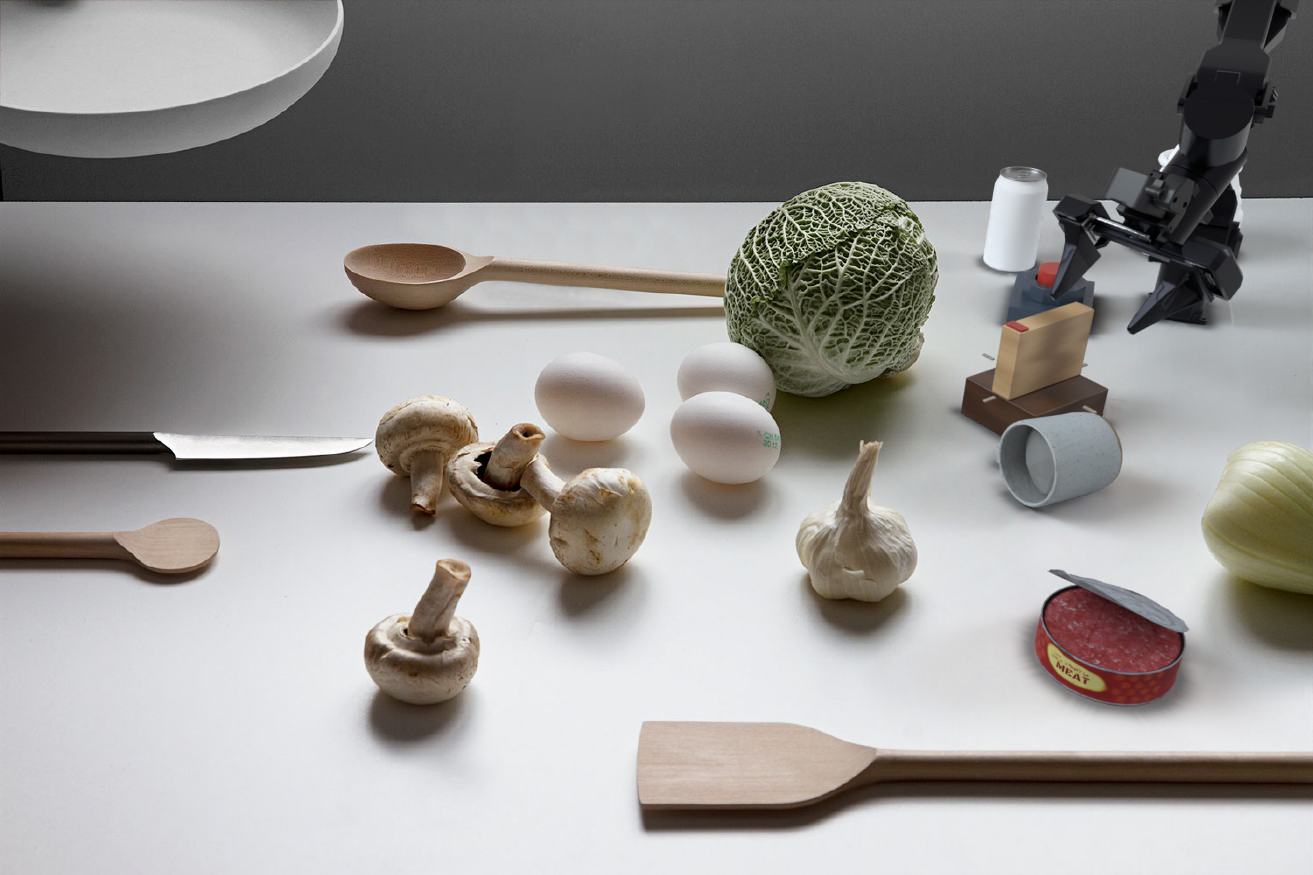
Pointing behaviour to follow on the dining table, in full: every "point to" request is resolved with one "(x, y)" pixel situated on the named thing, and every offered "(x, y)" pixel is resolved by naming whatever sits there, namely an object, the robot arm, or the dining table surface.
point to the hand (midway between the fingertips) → (1090, 314)
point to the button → (1048, 273)
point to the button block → (1043, 296)
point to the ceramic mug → (1058, 457)
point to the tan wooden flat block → (1042, 350)
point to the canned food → (1109, 642)
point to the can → (1016, 219)
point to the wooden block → (1029, 400)
